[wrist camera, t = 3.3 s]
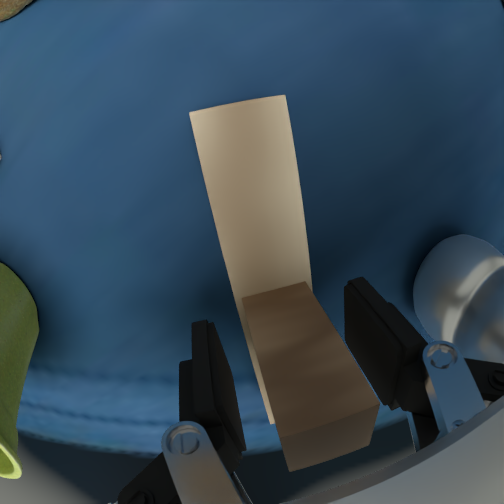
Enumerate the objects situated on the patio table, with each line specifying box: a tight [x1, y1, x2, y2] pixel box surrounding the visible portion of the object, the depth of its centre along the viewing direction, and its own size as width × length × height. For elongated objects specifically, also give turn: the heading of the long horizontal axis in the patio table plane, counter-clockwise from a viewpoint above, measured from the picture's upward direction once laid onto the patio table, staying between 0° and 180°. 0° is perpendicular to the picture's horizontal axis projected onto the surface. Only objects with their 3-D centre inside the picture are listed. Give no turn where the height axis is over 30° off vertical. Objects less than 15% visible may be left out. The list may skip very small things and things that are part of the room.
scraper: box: [189, 95, 380, 472], centre depth 11 cm, size 3×16×9 cm, turn 11°
